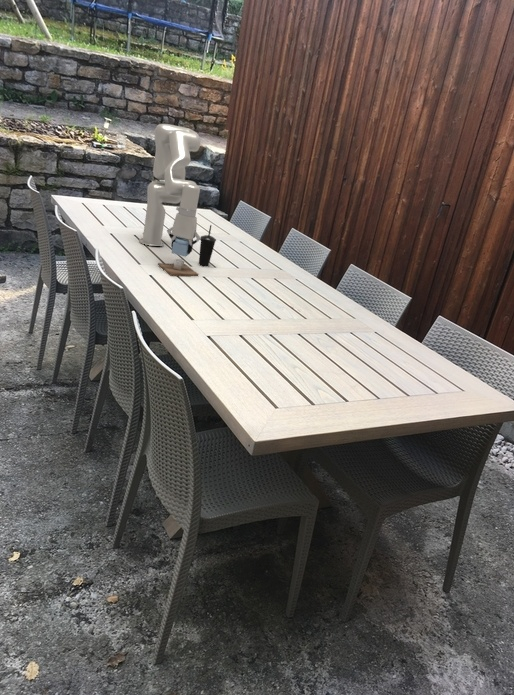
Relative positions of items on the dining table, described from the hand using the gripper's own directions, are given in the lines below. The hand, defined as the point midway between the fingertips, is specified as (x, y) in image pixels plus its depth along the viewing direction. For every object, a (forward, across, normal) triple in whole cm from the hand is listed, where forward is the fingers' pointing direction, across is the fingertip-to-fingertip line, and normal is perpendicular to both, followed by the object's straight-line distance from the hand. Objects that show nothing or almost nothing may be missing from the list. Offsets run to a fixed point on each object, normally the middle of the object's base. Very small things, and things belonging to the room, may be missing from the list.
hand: (181, 250), depth 265 cm
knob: (+1, 0, 0) cm, 1 cm away
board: (+10, 0, 0) cm, 10 cm away
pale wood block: (+9, 0, 0) cm, 9 cm away
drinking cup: (+10, +6, +20) cm, 24 cm away
